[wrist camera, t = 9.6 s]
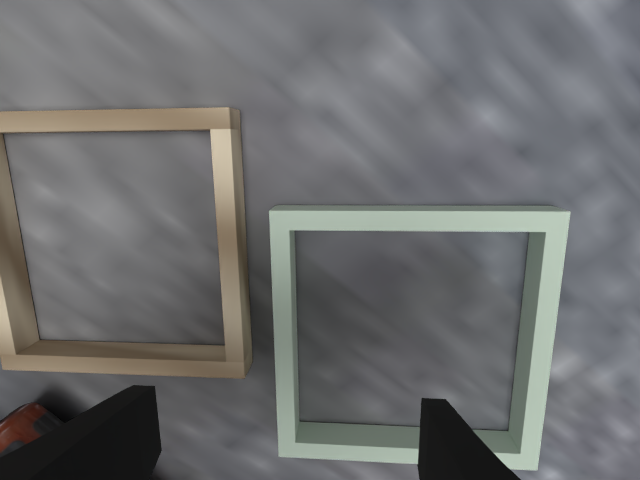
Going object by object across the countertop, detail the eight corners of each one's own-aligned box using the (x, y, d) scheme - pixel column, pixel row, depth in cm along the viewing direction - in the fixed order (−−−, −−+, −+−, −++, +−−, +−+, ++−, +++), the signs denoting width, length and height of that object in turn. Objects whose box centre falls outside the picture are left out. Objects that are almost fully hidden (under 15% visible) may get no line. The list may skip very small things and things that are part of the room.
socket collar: (252, 361, 20) (244, 378, 19) (27, 353, 21) (3, 369, 20) (239, 110, 17) (229, 107, 16) (-18, 114, 18) (-50, 112, 17)
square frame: (524, 446, 20) (537, 470, 18) (283, 434, 21) (278, 456, 19) (552, 205, 17) (570, 211, 16) (276, 205, 18) (269, 210, 17)
